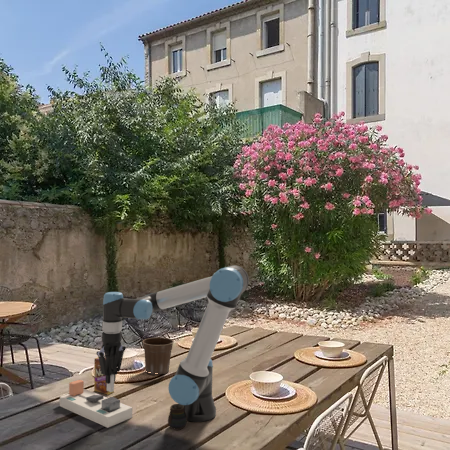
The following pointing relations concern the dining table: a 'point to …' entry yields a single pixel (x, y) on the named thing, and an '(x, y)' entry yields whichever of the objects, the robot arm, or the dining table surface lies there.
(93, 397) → the block
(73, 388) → the slider
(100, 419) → the panel
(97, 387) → the candy box
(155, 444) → the dining table surface
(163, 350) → the plant pot
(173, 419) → the mate gourd
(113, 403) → the button
